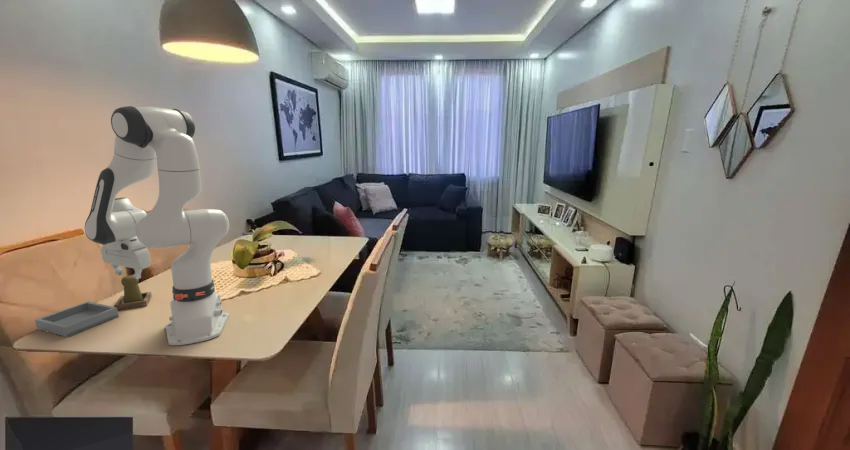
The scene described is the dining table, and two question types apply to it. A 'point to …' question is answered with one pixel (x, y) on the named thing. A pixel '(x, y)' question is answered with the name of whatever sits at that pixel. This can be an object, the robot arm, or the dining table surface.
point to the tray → (76, 318)
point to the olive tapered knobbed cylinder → (131, 289)
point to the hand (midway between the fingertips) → (128, 276)
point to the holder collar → (122, 306)
